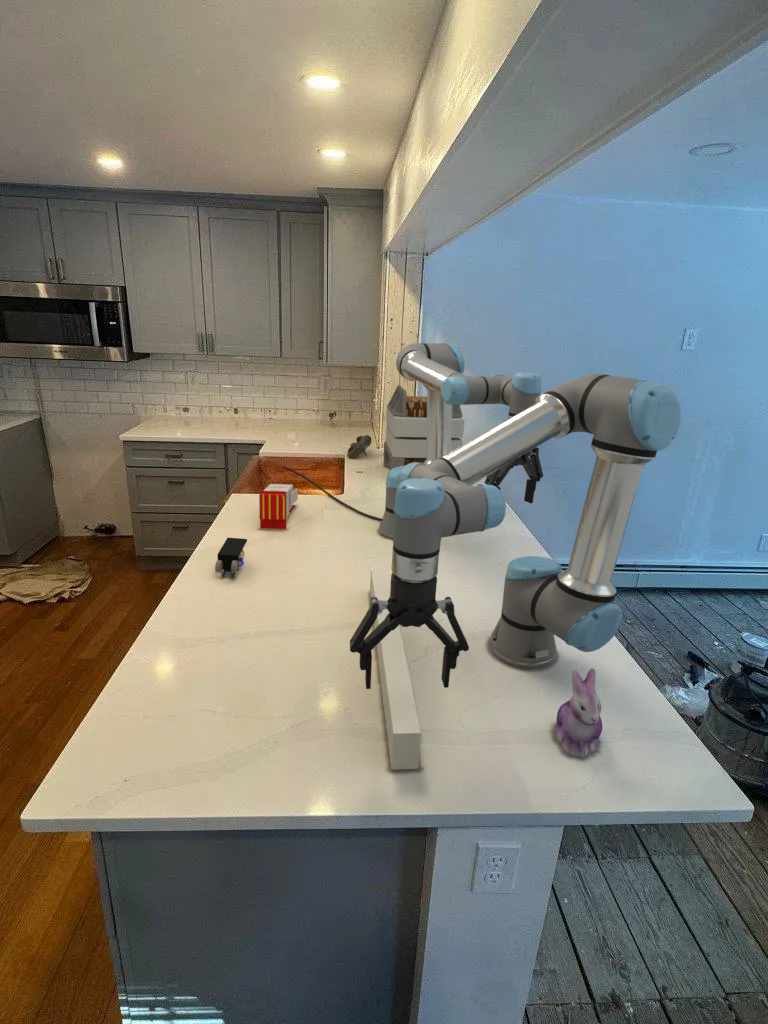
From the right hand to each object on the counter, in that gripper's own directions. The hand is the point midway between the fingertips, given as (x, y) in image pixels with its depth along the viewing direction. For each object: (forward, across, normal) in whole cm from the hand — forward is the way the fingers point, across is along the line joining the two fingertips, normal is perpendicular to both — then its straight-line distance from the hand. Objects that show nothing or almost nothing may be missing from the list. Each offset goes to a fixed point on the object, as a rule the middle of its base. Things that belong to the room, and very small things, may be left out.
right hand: (406, 683), depth 99 cm
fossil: (+13, +2, +214) cm, 215 cm away
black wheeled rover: (+13, -42, +73) cm, 85 cm away
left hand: (-11, +38, +66) cm, 77 cm away
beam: (+13, 0, +26) cm, 29 cm away
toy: (+13, -32, +118) cm, 123 cm away
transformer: (+13, +30, +180) cm, 183 cm away
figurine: (+13, +33, -1) cm, 36 cm away
